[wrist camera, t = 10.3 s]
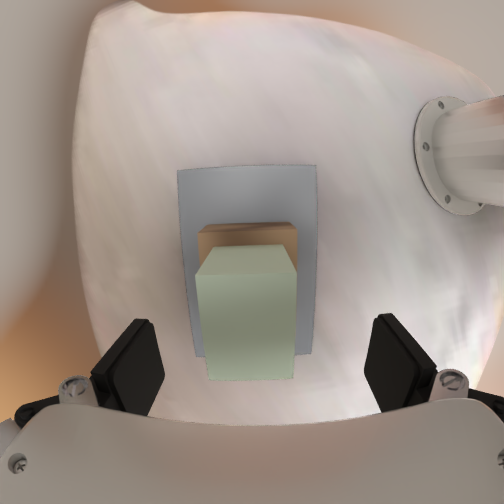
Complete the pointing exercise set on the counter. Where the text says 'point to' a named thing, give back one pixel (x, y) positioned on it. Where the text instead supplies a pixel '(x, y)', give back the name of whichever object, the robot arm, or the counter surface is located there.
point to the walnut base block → (248, 237)
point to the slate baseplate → (252, 211)
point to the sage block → (248, 312)
